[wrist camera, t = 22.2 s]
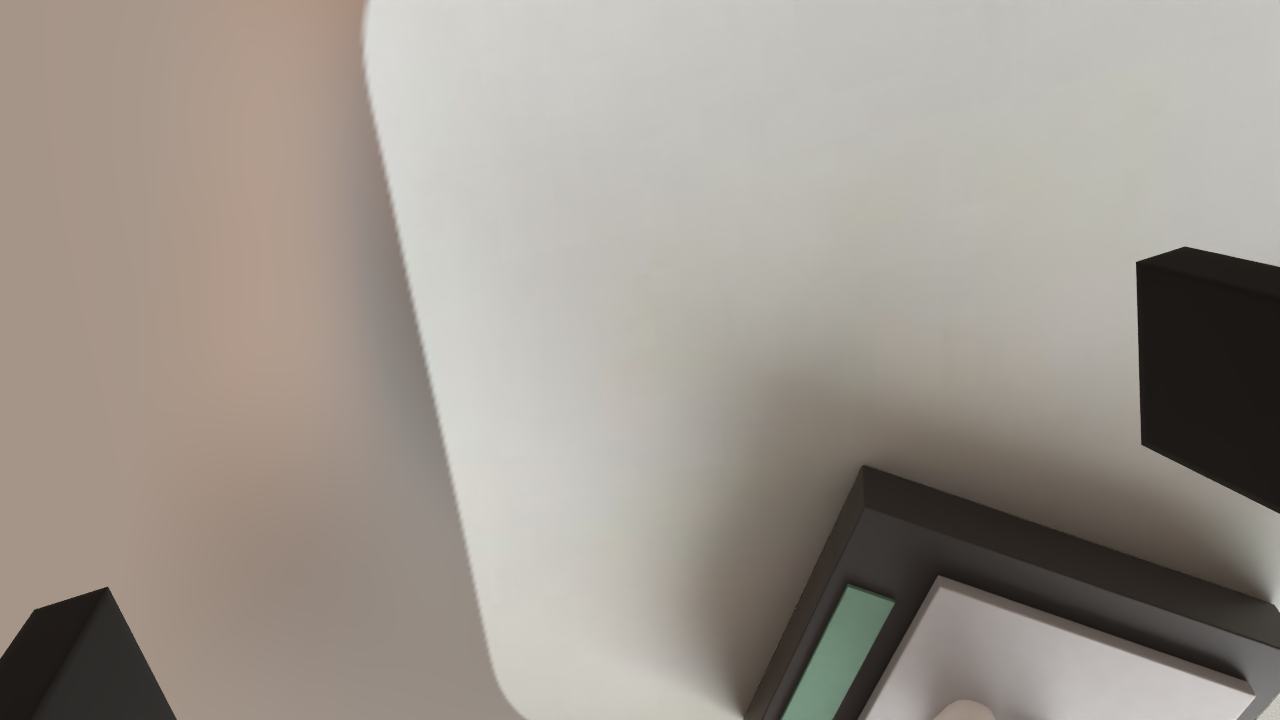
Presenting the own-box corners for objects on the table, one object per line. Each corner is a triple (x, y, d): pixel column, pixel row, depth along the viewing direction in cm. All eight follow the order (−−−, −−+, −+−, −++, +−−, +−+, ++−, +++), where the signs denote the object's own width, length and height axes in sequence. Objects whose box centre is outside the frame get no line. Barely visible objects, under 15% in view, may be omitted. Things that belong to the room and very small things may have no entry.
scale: (742, 721, 36) (734, 785, 33) (863, 464, 30) (864, 517, 27) (1081, 843, 35) (1101, 919, 32) (1275, 604, 29) (1319, 673, 26)
